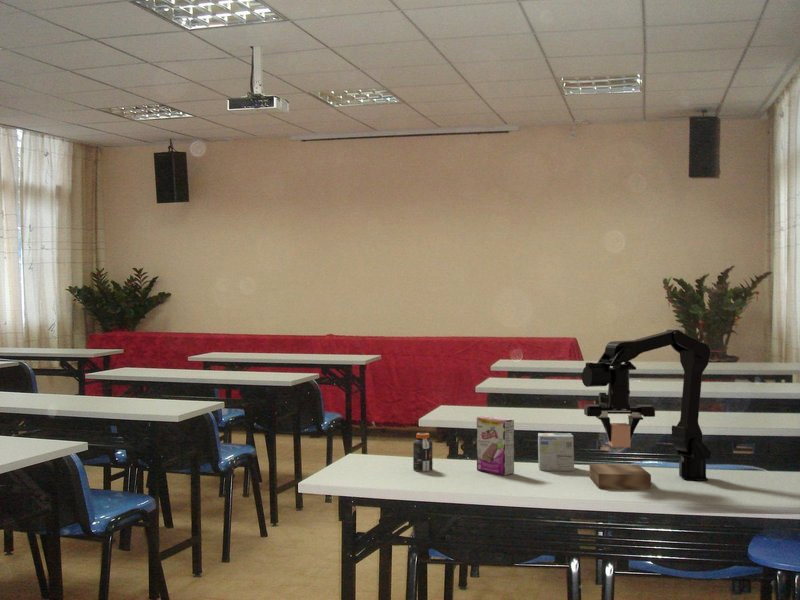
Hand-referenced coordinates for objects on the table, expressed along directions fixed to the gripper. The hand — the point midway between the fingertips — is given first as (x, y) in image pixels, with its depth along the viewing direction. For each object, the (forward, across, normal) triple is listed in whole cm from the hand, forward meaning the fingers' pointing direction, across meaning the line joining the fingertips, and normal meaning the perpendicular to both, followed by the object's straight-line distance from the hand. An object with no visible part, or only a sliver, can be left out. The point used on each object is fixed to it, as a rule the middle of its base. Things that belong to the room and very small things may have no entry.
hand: (619, 441), depth 219 cm
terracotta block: (+1, 0, 0) cm, 1 cm away
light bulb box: (+12, +15, -20) cm, 28 cm away
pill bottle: (+12, +56, -16) cm, 60 cm away
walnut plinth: (+12, 0, 0) cm, 12 cm away
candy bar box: (+12, +34, -14) cm, 39 cm away
